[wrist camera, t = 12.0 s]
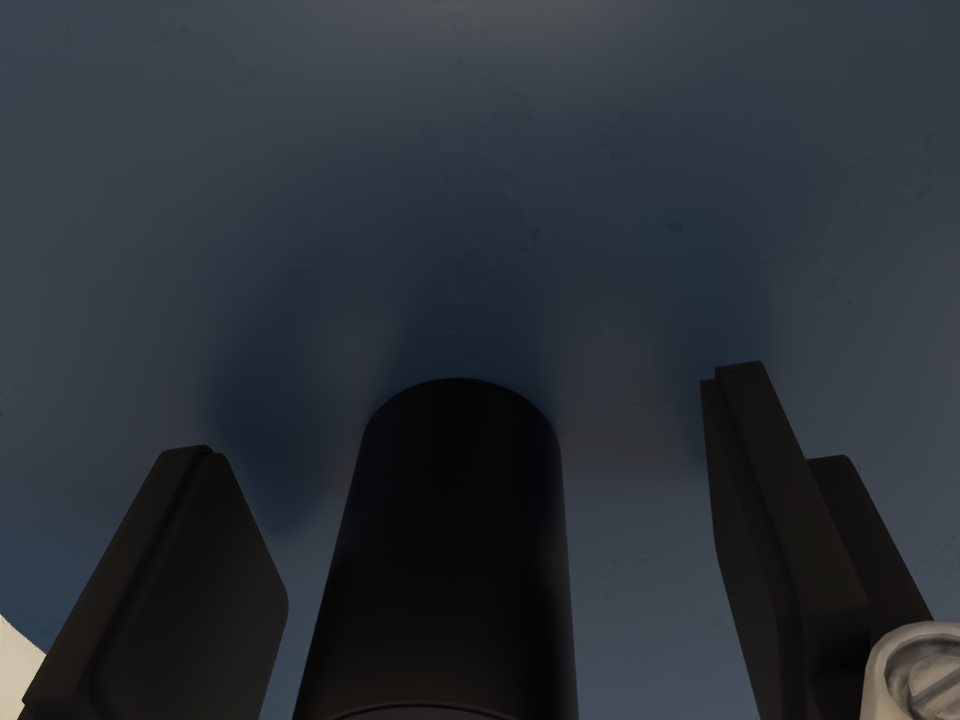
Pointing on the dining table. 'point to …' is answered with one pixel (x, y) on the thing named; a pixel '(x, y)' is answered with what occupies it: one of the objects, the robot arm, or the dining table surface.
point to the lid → (474, 316)
